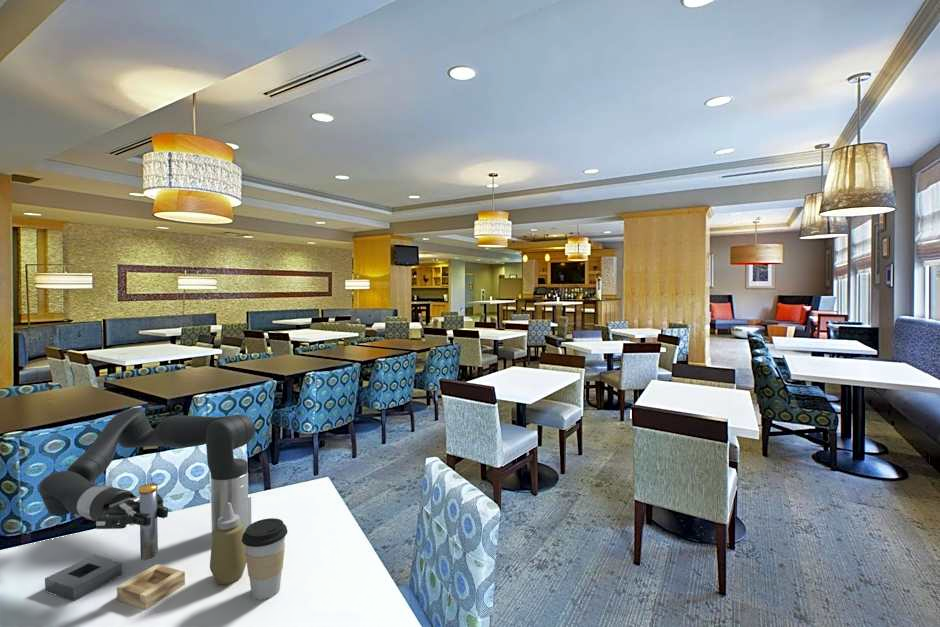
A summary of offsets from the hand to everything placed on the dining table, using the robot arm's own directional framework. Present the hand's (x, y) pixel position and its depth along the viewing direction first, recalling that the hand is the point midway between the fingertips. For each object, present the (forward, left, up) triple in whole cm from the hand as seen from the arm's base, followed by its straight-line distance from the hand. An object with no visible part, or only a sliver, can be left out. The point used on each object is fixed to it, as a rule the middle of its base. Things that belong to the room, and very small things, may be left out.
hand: (157, 517), depth 100 cm
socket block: (+3, -21, -18) cm, 27 cm away
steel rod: (0, -3, -9) cm, 10 cm away
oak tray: (0, -3, -18) cm, 18 cm away
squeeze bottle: (-10, +9, -18) cm, 23 cm away
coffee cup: (-9, +21, -18) cm, 29 cm away
